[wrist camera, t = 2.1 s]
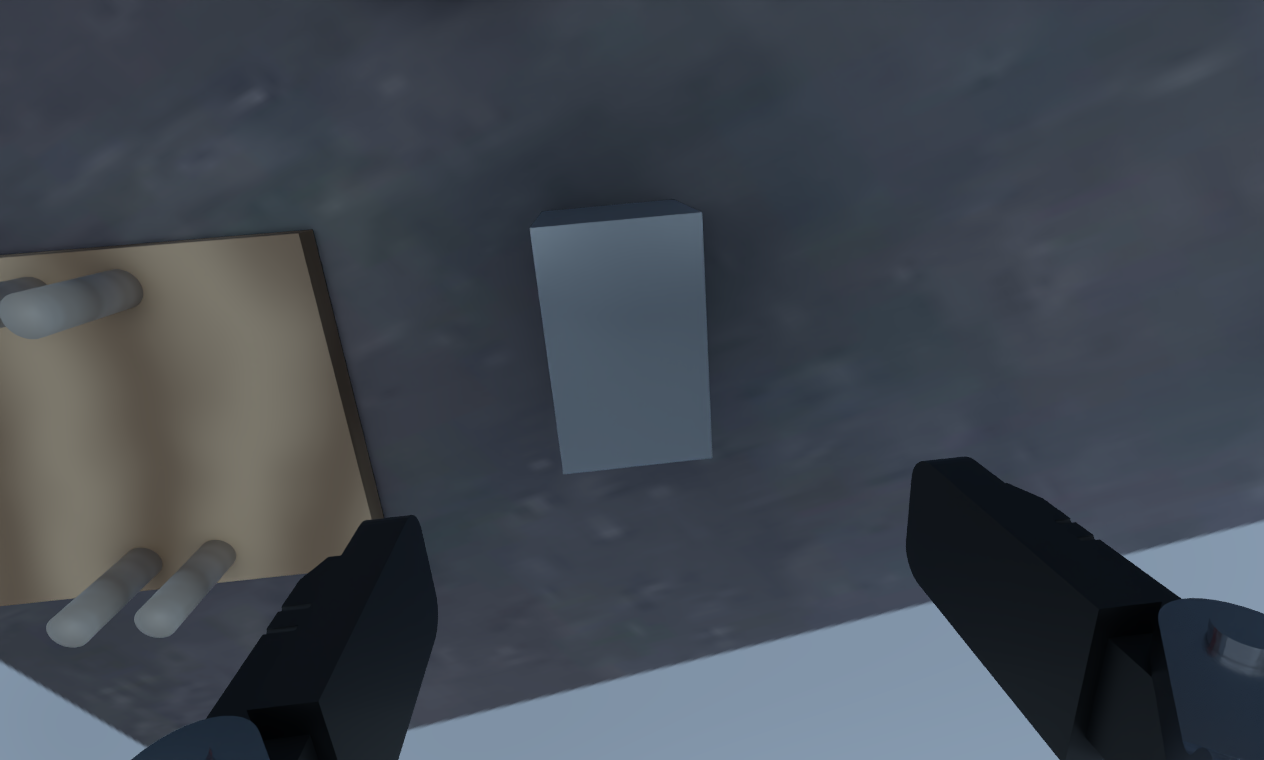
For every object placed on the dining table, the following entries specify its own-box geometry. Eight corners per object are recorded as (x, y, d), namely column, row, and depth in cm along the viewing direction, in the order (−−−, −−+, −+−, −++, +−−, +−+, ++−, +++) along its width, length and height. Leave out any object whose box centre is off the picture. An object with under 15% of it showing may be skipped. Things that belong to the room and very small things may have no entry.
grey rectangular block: (566, 405, 26) (562, 474, 20) (540, 211, 23) (527, 228, 18) (685, 393, 26) (714, 457, 21) (674, 198, 23) (703, 212, 18)
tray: (20, 587, 27) (-105, 683, 22) (-144, 266, 22) (-351, 298, 17) (391, 548, 28) (350, 632, 23) (312, 229, 23) (238, 249, 18)
